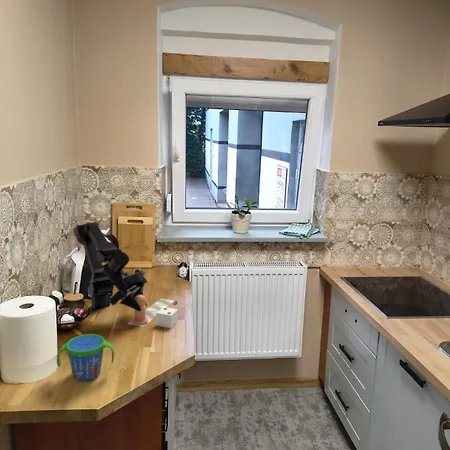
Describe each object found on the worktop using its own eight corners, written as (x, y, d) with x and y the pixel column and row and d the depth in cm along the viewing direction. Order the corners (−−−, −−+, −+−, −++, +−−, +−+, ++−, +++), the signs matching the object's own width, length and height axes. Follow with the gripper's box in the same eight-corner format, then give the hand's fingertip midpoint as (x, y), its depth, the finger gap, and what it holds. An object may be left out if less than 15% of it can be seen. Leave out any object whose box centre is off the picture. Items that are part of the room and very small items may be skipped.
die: (170, 330, 142) (171, 315, 141) (156, 328, 144) (156, 312, 143) (177, 324, 148) (177, 309, 147) (163, 321, 150) (163, 306, 149)
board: (146, 330, 142) (146, 327, 142) (124, 326, 144) (124, 323, 144) (177, 303, 168) (177, 301, 168) (158, 300, 171) (158, 297, 171)
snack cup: (52, 385, 107) (51, 351, 105) (64, 365, 117) (63, 333, 115) (110, 385, 108) (110, 351, 106) (117, 364, 118) (117, 333, 117)
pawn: (138, 326, 142) (138, 299, 140) (128, 321, 146) (128, 294, 144) (151, 321, 147) (151, 295, 145) (141, 316, 150) (141, 291, 149)
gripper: (116, 270, 135) (145, 305, 133) (143, 257, 152) (168, 288, 151) (97, 288, 138) (124, 322, 137) (125, 274, 156) (149, 304, 155)
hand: (143, 308), depth 145 cm, fingers closed on pawn, 4 cm apart
